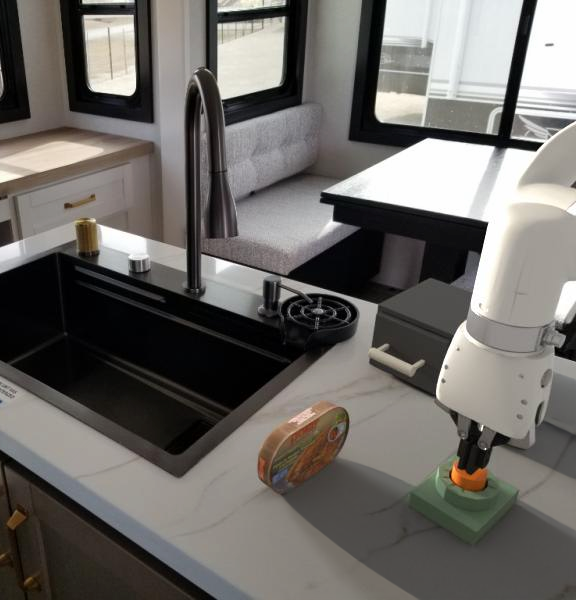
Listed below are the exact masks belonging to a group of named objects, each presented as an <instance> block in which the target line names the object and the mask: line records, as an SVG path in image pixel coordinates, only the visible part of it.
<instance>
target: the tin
mask: <svg viewBox="0 0 576 600" xmlns="http://www.w3.org/2000/svg"><path fill="white" fill-rule="evenodd" d="M349 431H350V415H349V412H348V411H347V409H345V407H342V406H339V405H337V404H334V403H333V402H331V401H327V400H320V401H317V402H314V404H311V405H310V406H309V407H307V408H305V409H304V410H301V411H300V412H299V413H297V414H296V415H294V416H291V418H289V419H287V420H286V421H284V422H283V423H281V424H279V425H278V426H276V427H275V428H274V429H273V430H272V431H271V432H269V434H267V436H266V437H265V439H264V441H263V442H262V444H261V446H260V448H259V451H258V453H257V461H256V472H257V477H258V479H259V481H260V482H261V483H262V484H264V485H265V486H267V487H268V488H270V489H271V490H272V491H273V492H274V493H275V494H280V495H283V494H287V493H290V492H291V491H294V489H296V488H297V487H298V486H300V485H301V484H302V483H304V482H306V481H308V479H310V478H311V477H313V476H314V475H315V474H317V473H319V472H320V471H321V470H323V469H324V468H326V467H327V466H328V465H330V464H331V463H332V462H333V461H334V460H335V459H336V458H337V457H338V455H339V454H340V453H341V451H342V449H343V447H344V445H345V444H346V441H347V439H348V435H349Z"/></svg>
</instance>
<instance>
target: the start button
mask: <svg viewBox="0 0 576 600" xmlns="http://www.w3.org/2000/svg"><path fill="white" fill-rule="evenodd" d="M458 462H459V460H458V461H456V462H455V463H454V466H453V470H452V474H451V480H452V482H453V483H454V484H455V485H456V486H458V487H460V488H462V489H463V490H467V491H472V492H478V491H481V490H483V489H484V487H485V483H486V479H487V476H488V473H487V470H486V469H487V468H486V467H485V468H486V469H485V468H484V469H483V470H482V469H480V468H479V469H478V470H477V471H476V472H475V473H473V474H472V475H469V474H467V473H466V471H465V470H460V469H458V468H457V466H458Z"/></svg>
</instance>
